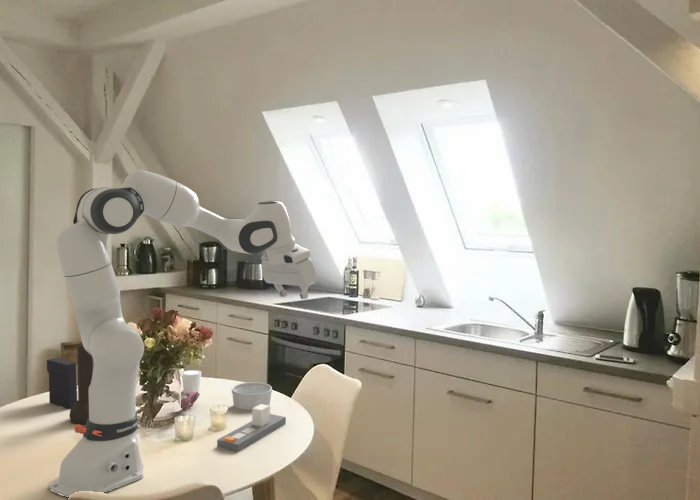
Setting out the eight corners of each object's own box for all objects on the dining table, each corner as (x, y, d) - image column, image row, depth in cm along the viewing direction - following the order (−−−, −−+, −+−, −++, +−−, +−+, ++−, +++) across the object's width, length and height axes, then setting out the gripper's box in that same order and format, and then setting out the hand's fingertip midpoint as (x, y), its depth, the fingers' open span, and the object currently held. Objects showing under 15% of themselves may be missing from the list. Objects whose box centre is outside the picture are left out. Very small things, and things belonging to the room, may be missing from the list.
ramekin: (278, 410, 205) (279, 390, 204) (241, 417, 198) (241, 396, 197) (261, 399, 216) (261, 379, 215) (225, 406, 208) (225, 385, 208)
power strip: (238, 457, 168) (238, 441, 167) (217, 452, 171) (217, 436, 170) (285, 428, 189) (285, 414, 189) (266, 424, 192) (266, 410, 192)
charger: (261, 433, 181) (261, 410, 180) (252, 431, 182) (252, 408, 182) (269, 428, 185) (269, 405, 184) (260, 426, 186) (260, 403, 186)
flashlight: (68, 427, 187) (103, 423, 190) (66, 345, 185) (102, 343, 188) (70, 416, 196) (104, 413, 199) (69, 338, 194) (103, 336, 197)
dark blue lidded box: (79, 406, 205) (78, 362, 204) (67, 410, 202) (66, 364, 200) (59, 400, 211) (58, 356, 210) (47, 403, 207) (46, 359, 206)
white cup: (178, 393, 220) (178, 374, 220) (186, 387, 227) (186, 369, 226) (196, 395, 219) (196, 375, 219) (204, 389, 226) (204, 370, 225)
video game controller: (181, 418, 200) (190, 400, 199) (170, 411, 201) (178, 393, 200) (195, 408, 210) (204, 391, 209) (184, 401, 210) (192, 384, 209)
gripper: (252, 256, 187) (264, 299, 190) (297, 258, 173) (309, 304, 176) (268, 249, 191) (279, 291, 194) (313, 250, 177) (324, 295, 180)
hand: (294, 297), depth 185 cm, fingers open, 8 cm apart
